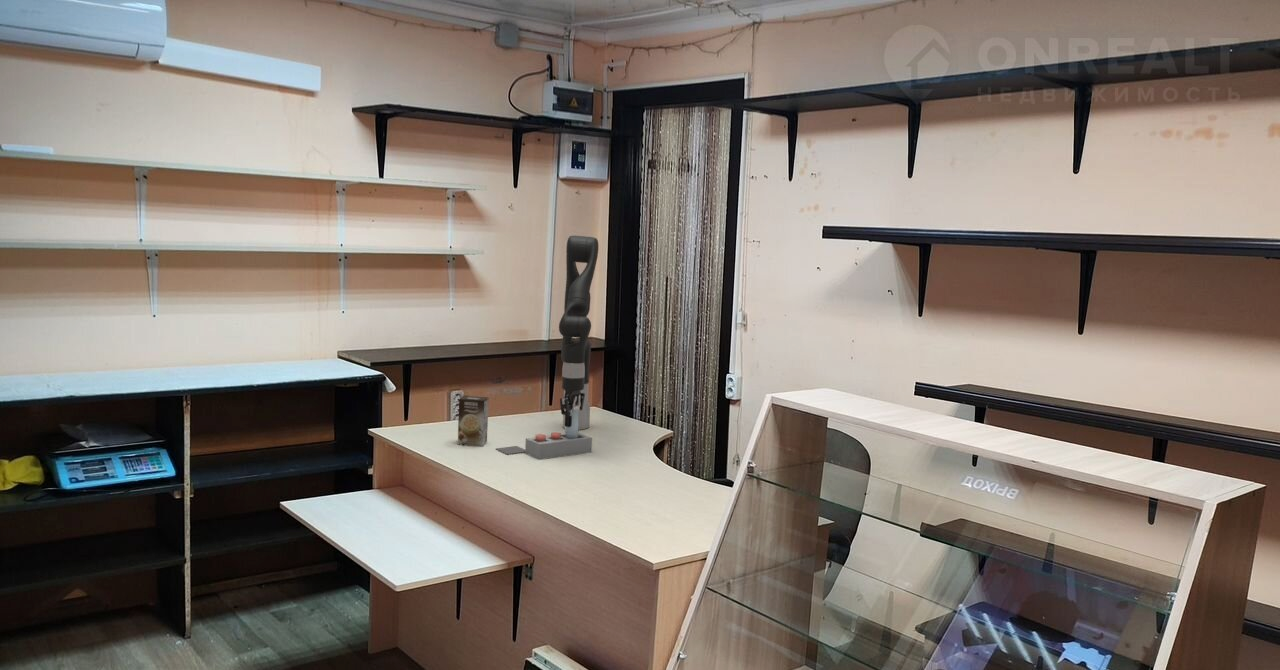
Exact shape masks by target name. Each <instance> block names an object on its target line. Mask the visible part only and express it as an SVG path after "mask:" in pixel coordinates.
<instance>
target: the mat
mask: <svg viewBox="0 0 1280 670" xmlns="http://www.w3.org/2000/svg"><path fill="white" fill-rule="evenodd" d="M495 450H496V451H497V450H498V452H500V451H501V452H500V453H502V452H503V453H502V454H504V453H505V454H504V455H506V454H507V455H506V456H509V454H512V455H517V454H518V453H519V454H526V453H525V449H524V448H523V447H521V446H518V445H512V446H505V447H504V446H503V447H499V448H495Z"/></svg>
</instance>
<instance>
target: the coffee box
mask: <svg viewBox="0 0 1280 670" xmlns="http://www.w3.org/2000/svg"><path fill="white" fill-rule="evenodd" d="M488 421H489V397H487V396H478V395H477V396H476V395H475V396H474V395H462V396H461V397H460V398H459V399H458V426H457V445H459V444H464V445H463V446H471V445H475V446H474V447H484V446H485V445H486V444H487V443H488V430H489V428H488ZM486 442H487V443H486ZM485 443H486V444H485ZM484 444H485V445H484ZM483 445H484V446H483Z"/></svg>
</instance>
